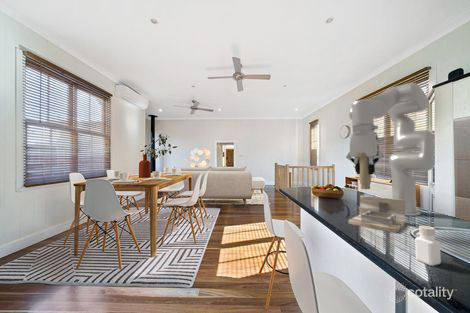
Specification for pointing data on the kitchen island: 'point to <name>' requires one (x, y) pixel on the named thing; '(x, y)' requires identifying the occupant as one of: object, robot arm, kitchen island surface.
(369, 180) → the handle
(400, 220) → the hinge stand
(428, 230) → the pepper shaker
